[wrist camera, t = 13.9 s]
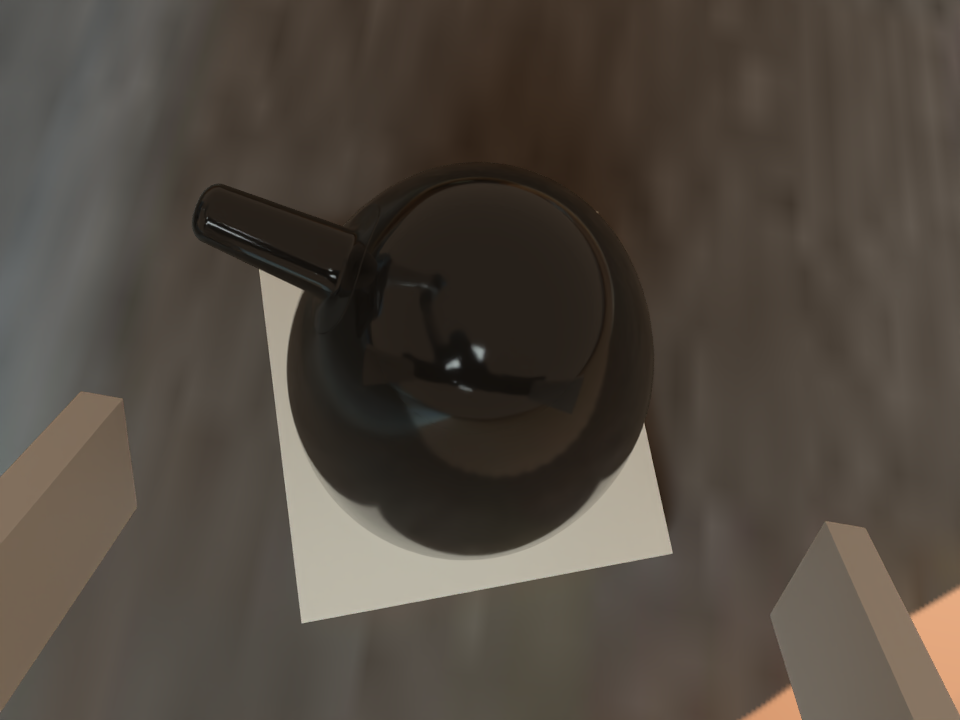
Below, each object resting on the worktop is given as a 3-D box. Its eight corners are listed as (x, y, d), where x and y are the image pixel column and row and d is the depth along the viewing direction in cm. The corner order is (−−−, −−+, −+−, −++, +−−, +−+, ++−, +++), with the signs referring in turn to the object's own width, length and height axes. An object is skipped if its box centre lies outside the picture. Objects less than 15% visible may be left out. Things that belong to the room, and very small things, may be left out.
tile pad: (267, 272, 28) (257, 259, 27) (589, 226, 30) (598, 211, 28) (309, 616, 26) (302, 623, 25) (660, 551, 27) (672, 553, 26)
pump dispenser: (365, 236, 27) (277, -89, 13) (630, 316, 27) (858, 84, 12) (272, 501, 25) (34, 488, 10) (560, 588, 25) (733, 699, 10)
